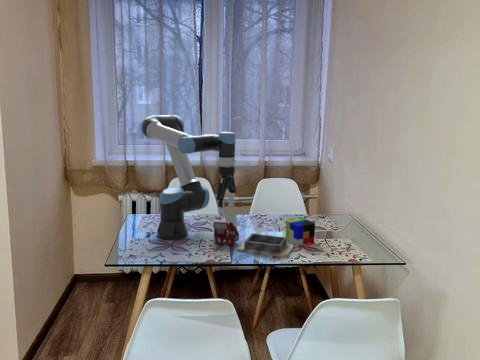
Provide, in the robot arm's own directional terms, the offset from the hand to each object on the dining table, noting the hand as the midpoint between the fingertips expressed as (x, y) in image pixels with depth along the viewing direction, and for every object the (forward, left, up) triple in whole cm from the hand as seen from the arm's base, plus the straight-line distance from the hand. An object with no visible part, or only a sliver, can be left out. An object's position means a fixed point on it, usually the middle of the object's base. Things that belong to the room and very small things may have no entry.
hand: (226, 209), depth 211 cm
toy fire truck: (0, 0, -17) cm, 17 cm away
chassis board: (+20, -1, -16) cm, 26 cm away
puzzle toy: (+33, +15, -17) cm, 40 cm away
